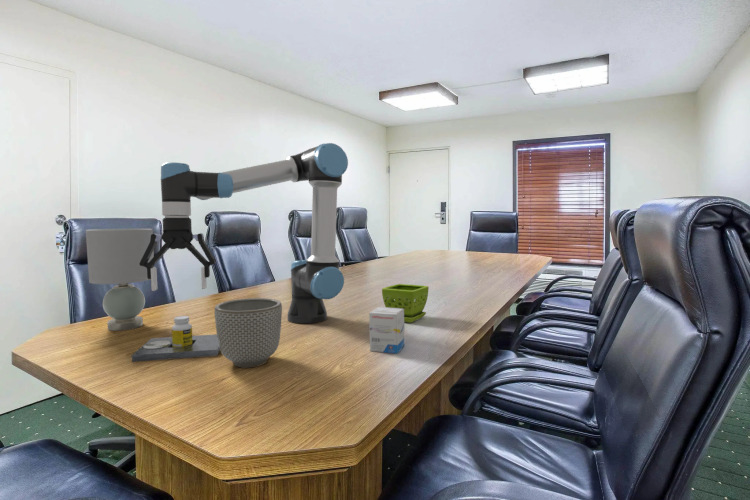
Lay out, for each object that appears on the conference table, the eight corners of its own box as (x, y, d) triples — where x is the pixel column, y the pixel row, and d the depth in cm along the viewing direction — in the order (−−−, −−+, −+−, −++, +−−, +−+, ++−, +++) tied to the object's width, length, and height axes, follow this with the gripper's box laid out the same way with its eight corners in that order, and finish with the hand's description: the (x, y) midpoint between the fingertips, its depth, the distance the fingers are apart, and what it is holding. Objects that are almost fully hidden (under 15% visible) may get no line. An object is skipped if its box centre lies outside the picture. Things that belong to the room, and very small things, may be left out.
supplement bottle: (184, 353, 117) (183, 320, 116) (168, 352, 118) (167, 319, 117) (196, 347, 122) (195, 315, 121) (180, 346, 123) (179, 314, 122)
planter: (246, 379, 97) (244, 314, 96) (202, 365, 106) (200, 306, 105) (296, 358, 112) (295, 301, 111) (253, 348, 121) (252, 295, 120)
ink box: (405, 345, 123) (405, 307, 122) (397, 354, 115) (397, 314, 114) (378, 342, 126) (378, 305, 125) (369, 351, 118) (368, 311, 117)
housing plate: (225, 339, 130) (225, 332, 130) (217, 355, 114) (216, 348, 114) (151, 343, 125) (151, 337, 125) (131, 361, 110) (131, 354, 110)
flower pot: (429, 317, 157) (429, 285, 156) (413, 326, 145) (413, 291, 144) (398, 313, 164) (398, 282, 163) (380, 320, 153) (380, 287, 152)
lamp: (78, 331, 140) (71, 229, 137) (132, 317, 158) (127, 228, 156) (117, 337, 132) (111, 230, 130) (169, 322, 151) (165, 228, 148)
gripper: (224, 217, 123) (226, 285, 125) (134, 217, 118) (137, 288, 119) (220, 217, 116) (222, 289, 117) (124, 216, 110) (127, 293, 112)
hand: (179, 289), depth 118 cm, fingers open, 13 cm apart
